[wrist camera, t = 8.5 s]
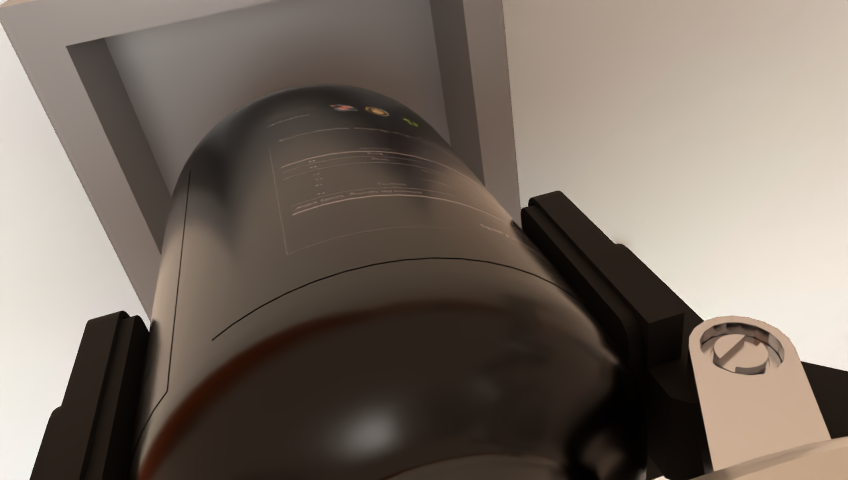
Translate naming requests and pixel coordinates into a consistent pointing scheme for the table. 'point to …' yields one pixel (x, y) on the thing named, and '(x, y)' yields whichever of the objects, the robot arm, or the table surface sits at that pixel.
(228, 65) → the divided tray
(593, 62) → the table surface
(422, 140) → the supplement bottle
